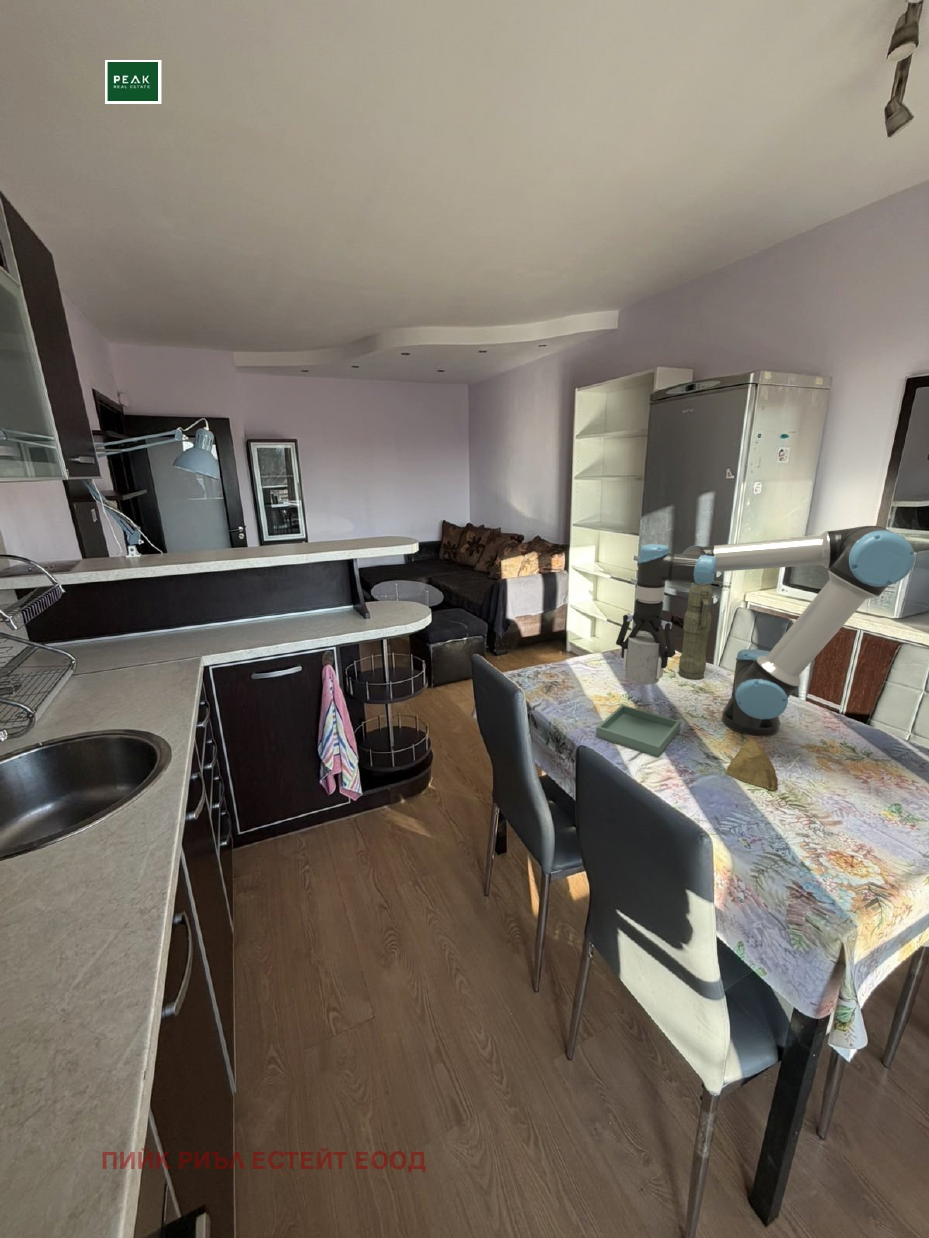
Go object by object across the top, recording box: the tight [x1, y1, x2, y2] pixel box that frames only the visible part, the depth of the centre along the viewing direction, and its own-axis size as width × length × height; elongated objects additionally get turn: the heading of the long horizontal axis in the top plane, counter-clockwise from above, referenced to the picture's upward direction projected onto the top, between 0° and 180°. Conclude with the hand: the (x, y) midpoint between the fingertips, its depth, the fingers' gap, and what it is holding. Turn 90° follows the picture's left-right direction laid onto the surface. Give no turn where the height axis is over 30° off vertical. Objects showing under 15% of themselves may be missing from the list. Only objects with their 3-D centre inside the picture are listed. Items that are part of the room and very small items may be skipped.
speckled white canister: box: [624, 633, 661, 686], centre depth 149 cm, size 10×10×12 cm
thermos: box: [678, 583, 714, 681], centre depth 183 cm, size 9×12×35 cm
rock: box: [724, 738, 779, 791], centre depth 125 cm, size 11×9×10 cm
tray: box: [595, 704, 681, 759], centre depth 149 cm, size 18×18×3 cm
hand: (642, 672), depth 150 cm, fingers closed on speckled white canister, 9 cm apart
